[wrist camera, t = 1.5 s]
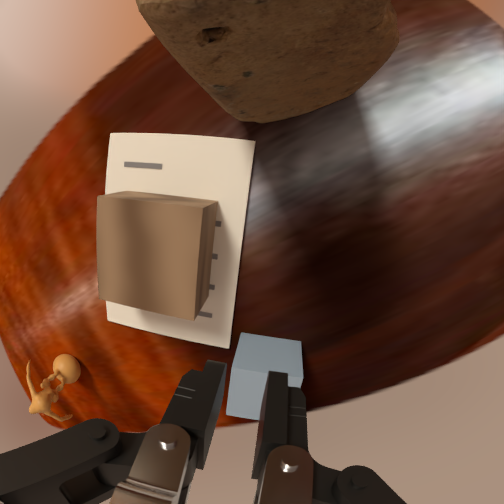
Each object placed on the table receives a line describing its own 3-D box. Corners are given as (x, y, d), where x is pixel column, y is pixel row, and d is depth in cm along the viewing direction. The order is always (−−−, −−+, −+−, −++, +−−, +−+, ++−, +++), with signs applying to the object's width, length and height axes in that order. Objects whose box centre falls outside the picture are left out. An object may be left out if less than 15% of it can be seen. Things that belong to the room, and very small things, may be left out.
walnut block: (217, 200, 26) (202, 208, 21) (208, 296, 28) (194, 321, 24) (126, 190, 26) (97, 196, 22) (124, 279, 29) (98, 298, 24)
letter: (255, 141, 25) (255, 140, 24) (229, 347, 30) (228, 349, 30) (112, 133, 25) (110, 132, 25) (109, 319, 31) (107, 320, 31)
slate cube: (300, 340, 29) (303, 377, 23) (289, 385, 31) (288, 423, 25) (241, 332, 30) (231, 367, 24) (235, 377, 31) (225, 414, 25)
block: (236, 133, 25) (111, 48, 5) (217, 58, 23) (105, -89, 4) (358, 108, 23) (501, 3, 4) (334, 34, 21) (394, -128, 2)
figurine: (50, 339, 33) (-4, 385, 22) (72, 327, 32) (13, 378, 21) (84, 386, 35) (40, 440, 23) (109, 379, 34) (63, 440, 22)
